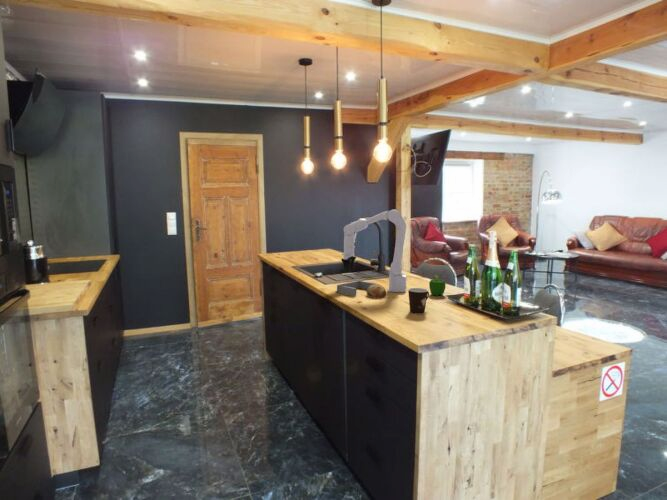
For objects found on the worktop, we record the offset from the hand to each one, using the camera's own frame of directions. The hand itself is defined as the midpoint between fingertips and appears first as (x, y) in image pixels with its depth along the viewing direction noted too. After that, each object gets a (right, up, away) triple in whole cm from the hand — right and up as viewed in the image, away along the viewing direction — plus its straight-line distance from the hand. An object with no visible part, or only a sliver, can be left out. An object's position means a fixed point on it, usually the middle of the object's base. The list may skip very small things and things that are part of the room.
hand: (348, 270), depth 236 cm
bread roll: (+14, -13, -15) cm, 24 cm away
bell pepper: (+46, -13, -12) cm, 49 cm away
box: (+5, -11, -7) cm, 14 cm away
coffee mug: (+31, -17, -44) cm, 56 cm away
